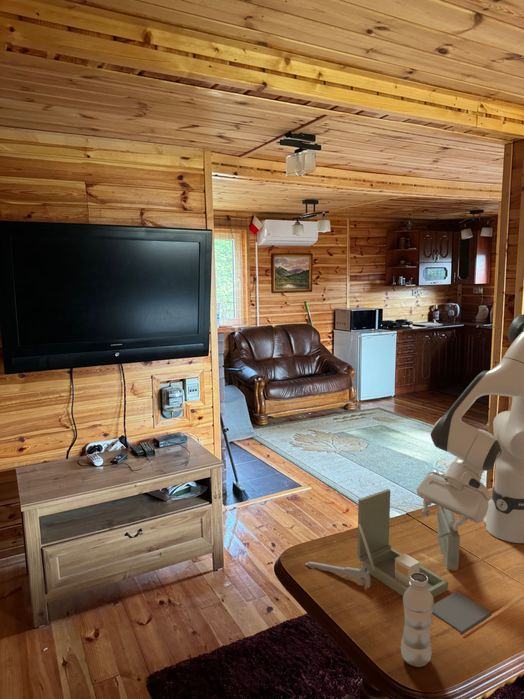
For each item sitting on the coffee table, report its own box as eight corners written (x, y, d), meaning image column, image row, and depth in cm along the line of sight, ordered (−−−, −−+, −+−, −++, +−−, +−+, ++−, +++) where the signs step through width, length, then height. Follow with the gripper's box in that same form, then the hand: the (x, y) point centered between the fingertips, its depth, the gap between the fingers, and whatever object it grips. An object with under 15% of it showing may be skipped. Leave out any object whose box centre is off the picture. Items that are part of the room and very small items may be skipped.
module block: (404, 576, 139) (405, 553, 138) (418, 585, 135) (419, 562, 134) (394, 581, 137) (394, 558, 136) (408, 591, 133) (409, 567, 132)
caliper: (370, 589, 135) (371, 568, 134) (368, 591, 134) (369, 570, 133) (306, 564, 147) (306, 544, 146) (304, 566, 146) (304, 546, 145)
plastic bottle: (394, 655, 112) (396, 573, 109) (417, 645, 114) (420, 565, 111) (413, 675, 106) (417, 590, 103) (438, 664, 109) (441, 581, 106)
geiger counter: (464, 528, 139) (450, 489, 163) (441, 525, 140) (429, 488, 165) (462, 573, 141) (447, 529, 165) (438, 571, 143) (427, 527, 167)
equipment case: (386, 553, 151) (387, 488, 148) (447, 591, 133) (451, 518, 130) (355, 567, 145) (356, 500, 141) (415, 609, 126) (418, 533, 123)
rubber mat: (456, 594, 132) (456, 591, 132) (491, 615, 124) (491, 612, 124) (426, 611, 126) (427, 607, 125) (461, 635, 117) (461, 631, 117)
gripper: (426, 463, 151) (403, 502, 147) (489, 487, 134) (465, 532, 130) (434, 474, 154) (412, 512, 150) (497, 498, 137) (474, 542, 134)
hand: (437, 521), depth 140 cm, fingers open, 8 cm apart
